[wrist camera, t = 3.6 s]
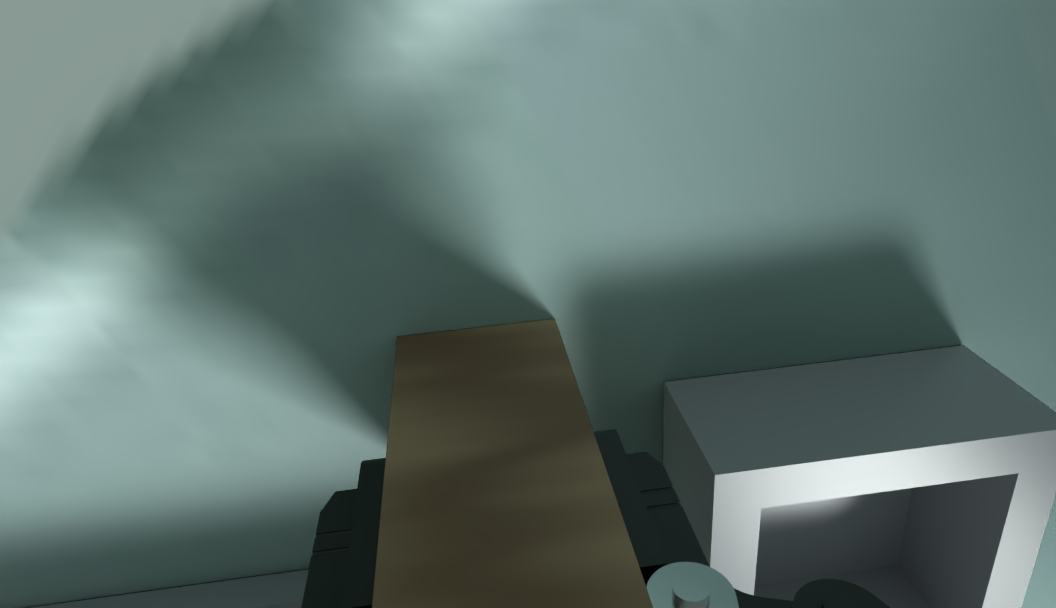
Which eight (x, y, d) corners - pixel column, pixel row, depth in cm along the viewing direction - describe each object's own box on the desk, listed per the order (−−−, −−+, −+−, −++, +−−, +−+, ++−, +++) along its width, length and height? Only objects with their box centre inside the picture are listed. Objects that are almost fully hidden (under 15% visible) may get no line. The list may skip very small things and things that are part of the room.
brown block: (554, 318, 16) (674, 668, 8) (562, 447, 18) (669, 848, 10) (397, 336, 16) (361, 717, 8) (418, 465, 18) (406, 893, 10)
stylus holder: (963, 345, 18) (1076, 426, 15) (915, 572, 21) (999, 680, 18) (664, 382, 17) (715, 475, 14) (660, 610, 21) (702, 727, 18)
